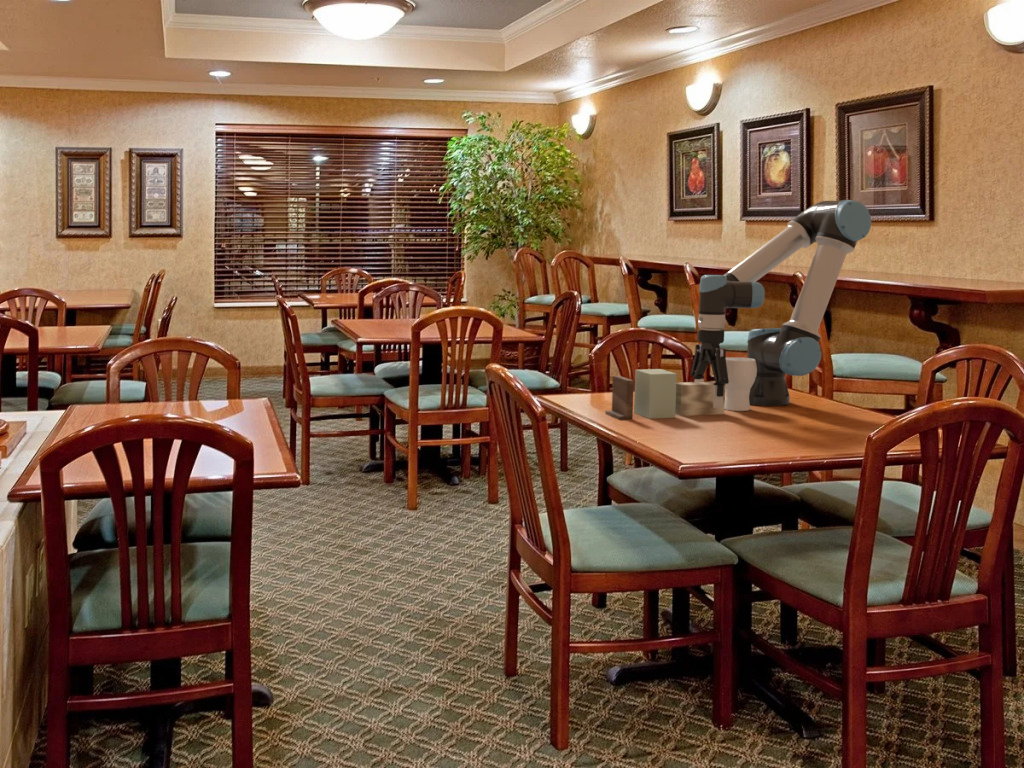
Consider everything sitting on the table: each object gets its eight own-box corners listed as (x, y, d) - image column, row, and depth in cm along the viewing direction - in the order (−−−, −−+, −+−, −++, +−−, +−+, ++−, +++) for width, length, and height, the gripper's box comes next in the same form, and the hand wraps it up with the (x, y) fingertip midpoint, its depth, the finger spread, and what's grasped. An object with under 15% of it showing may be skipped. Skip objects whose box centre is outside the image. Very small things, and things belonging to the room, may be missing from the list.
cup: (755, 412, 310) (757, 361, 308) (718, 411, 312) (720, 360, 310) (754, 407, 321) (756, 357, 318) (718, 405, 323) (720, 356, 321)
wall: (618, 413, 306) (619, 375, 304) (632, 419, 296) (633, 380, 295) (605, 414, 304) (606, 376, 303) (619, 420, 295) (620, 380, 293)
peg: (715, 411, 312) (717, 381, 311) (724, 414, 308) (725, 383, 306) (672, 413, 308) (673, 382, 307) (680, 416, 303) (681, 385, 302)
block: (659, 411, 310) (660, 368, 308) (675, 417, 300) (676, 373, 298) (633, 412, 307) (635, 369, 305) (649, 418, 297) (650, 374, 296)
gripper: (680, 325, 315) (678, 398, 318) (719, 332, 293) (715, 411, 296) (703, 325, 317) (700, 397, 320) (743, 332, 295) (739, 410, 298)
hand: (707, 404), depth 308 cm, fingers open, 11 cm apart
